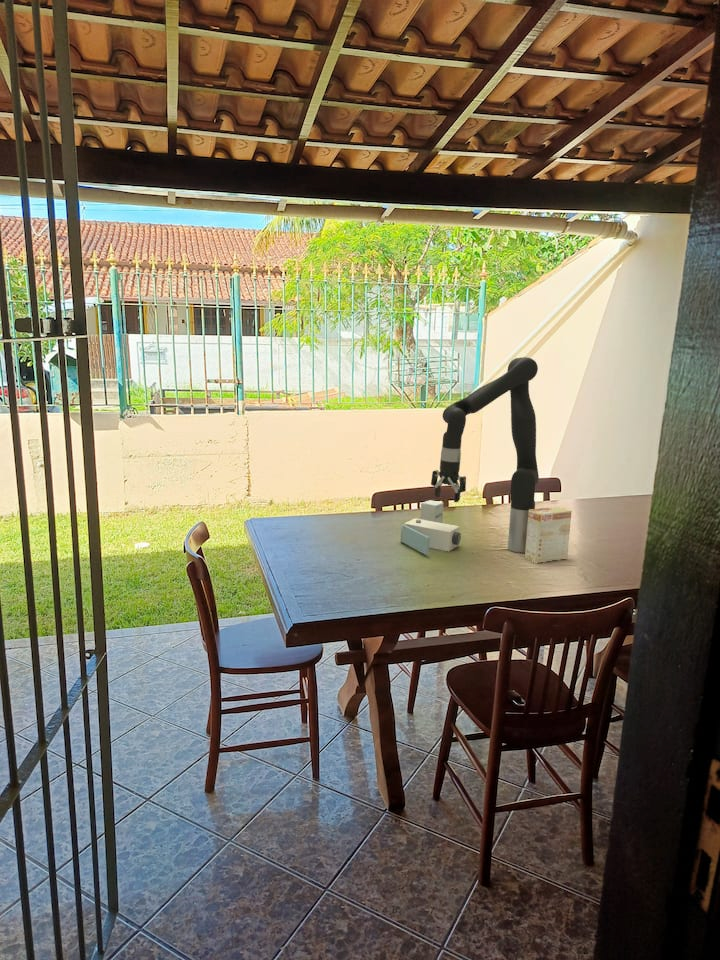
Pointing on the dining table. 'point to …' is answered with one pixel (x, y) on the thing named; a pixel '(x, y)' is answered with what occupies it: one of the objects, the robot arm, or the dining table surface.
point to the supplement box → (432, 511)
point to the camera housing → (437, 533)
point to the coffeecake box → (548, 534)
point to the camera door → (415, 539)
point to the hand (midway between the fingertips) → (446, 499)
